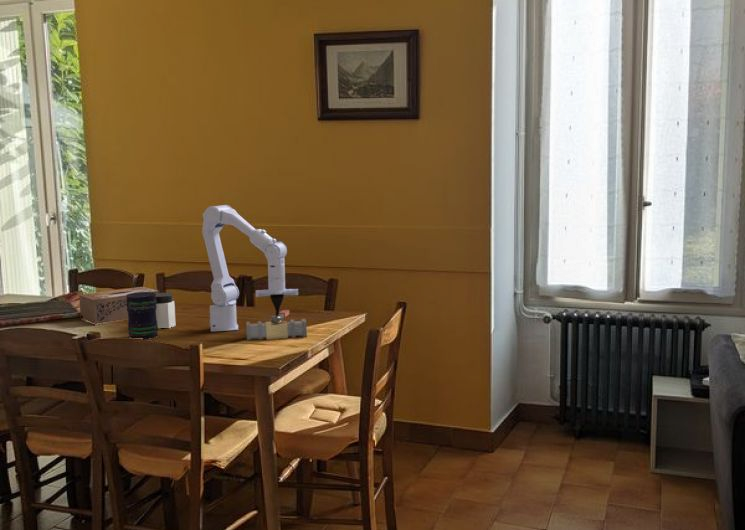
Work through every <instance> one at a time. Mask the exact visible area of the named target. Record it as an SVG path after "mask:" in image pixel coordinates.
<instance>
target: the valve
mask: <svg viewBox="0 0 745 530" xmlns="http://www.w3.org/2000/svg"><path fill="white" fill-rule="evenodd" d="M245 325H246V341H251V340H263V339H266V340H280V339H279V338H285V339H288V338H291V339H294V337H295V336H298V337H302V338H307V337H308V329H307V320H306V318H301V320H297V321H296V320H295V319H292V318H291V319H290V320H289V321H287V320H282V322H280V323H271V321H265V322H262V321H261V320H258V321H257V323H251V322H250V321H246V324H245ZM295 338H296V337H295Z"/></svg>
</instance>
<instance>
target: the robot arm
mask: <svg viewBox="0 0 745 530" xmlns="http://www.w3.org/2000/svg"><path fill="white" fill-rule="evenodd" d="M202 218H203V223H202V229H201V230H202V231H201V232H202V236H203V241H204V243H205V247H206V251H207V252H206V253H207V257H208V261H209V264H210V265H209V266H210V270H211V272H212V278H213V280H212V282H211V284H210V288H211V293H210V298H211V301H212V302H213V305H212V304H211V305H209V327H210V332H225V331H238V330H239V324H238V322H237V319H238V317H237V300H238V298H239V296H240V290H239V288H238V286H237V285H236V282H235V280H234V279H233V278H232V277H231V276H230V275H229V270H228V266H227V262H226V257H225V253H224V250H223V246H222V242H221V241H222V240H221V237H220V232H221V231H222V229H223V228H224V226H226V225H231V226H233V227H235V228H236V229H237V230H239V231H240V232H242V234H245V235H246V236H248V237H249V241H250V243H251V244H253V246H255V247H256V248H258V249H259V250H260V251H262V252H263V254H264V257H265V258H266V259H267V260H266V261H267V272H268V275H267V277H268V279H267V280H268V282H267V284H268V289H261V290H260V289H257V290H255V297H256V298H259V297H269V298H270V300H271V302H272V304H273V306H274V309H275V316H276V315H278V314H279V312H280V308H281V305H282V303H283V301H284V296H299V288H286V267H285V265H286V264H285V263H286V261H285V257H286V256H287V254H288V249H287V248H288V247H287V245H286V244H284V242H283V241H277V239H276V238H273V237H272V236H270V235H269V234H268V233H267V230H265V229H261V228H259V229H256V228H255V227H254V226H253V225H252V224H250V223H249V222H248V221H247V220H246V219H245V218H243V217H242V216H241V215H240V214H239V213H238V212H237V210H236V209H234V208H232V207H231V206H230V205H228V204H223V205H222V204H221V205H210V206H208V207H207V208H205V210H204V212H203V213H202Z"/></svg>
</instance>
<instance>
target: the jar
mask: <svg viewBox="0 0 745 530" xmlns="http://www.w3.org/2000/svg"><path fill="white" fill-rule="evenodd" d="M155 297H156V307H157V308H156V320H157V325H158V328H169V329H172V328H174V327H176V305H175V300H174V294H173V293H172V292H159V293H156V296H155ZM171 327H172V328H171Z"/></svg>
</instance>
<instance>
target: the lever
mask: <svg viewBox="0 0 745 530" xmlns="http://www.w3.org/2000/svg"><path fill="white" fill-rule="evenodd" d="M289 315H290V310H289V309H283V310H281V311H279V314H278V315H276V314H275V315H271V316H270V322H271V323H280V322H282V321H283V320H282V319H284V318H286V317H287V316H289Z"/></svg>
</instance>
